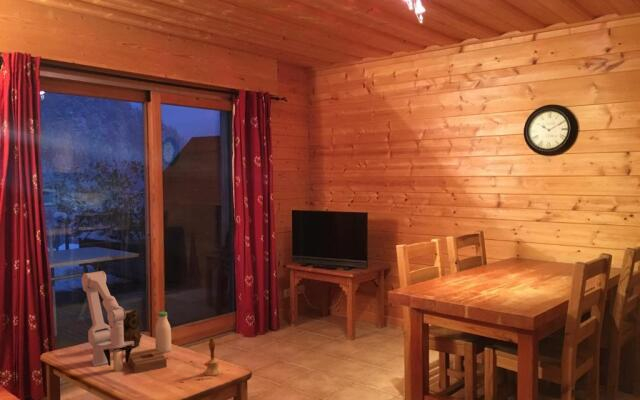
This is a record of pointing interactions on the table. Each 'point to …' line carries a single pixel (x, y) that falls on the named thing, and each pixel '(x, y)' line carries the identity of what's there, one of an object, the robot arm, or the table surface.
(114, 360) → the cream peg
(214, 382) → the table surface
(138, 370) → the walnut holder
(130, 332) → the owl
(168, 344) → the milk bottle
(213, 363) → the hand bell
